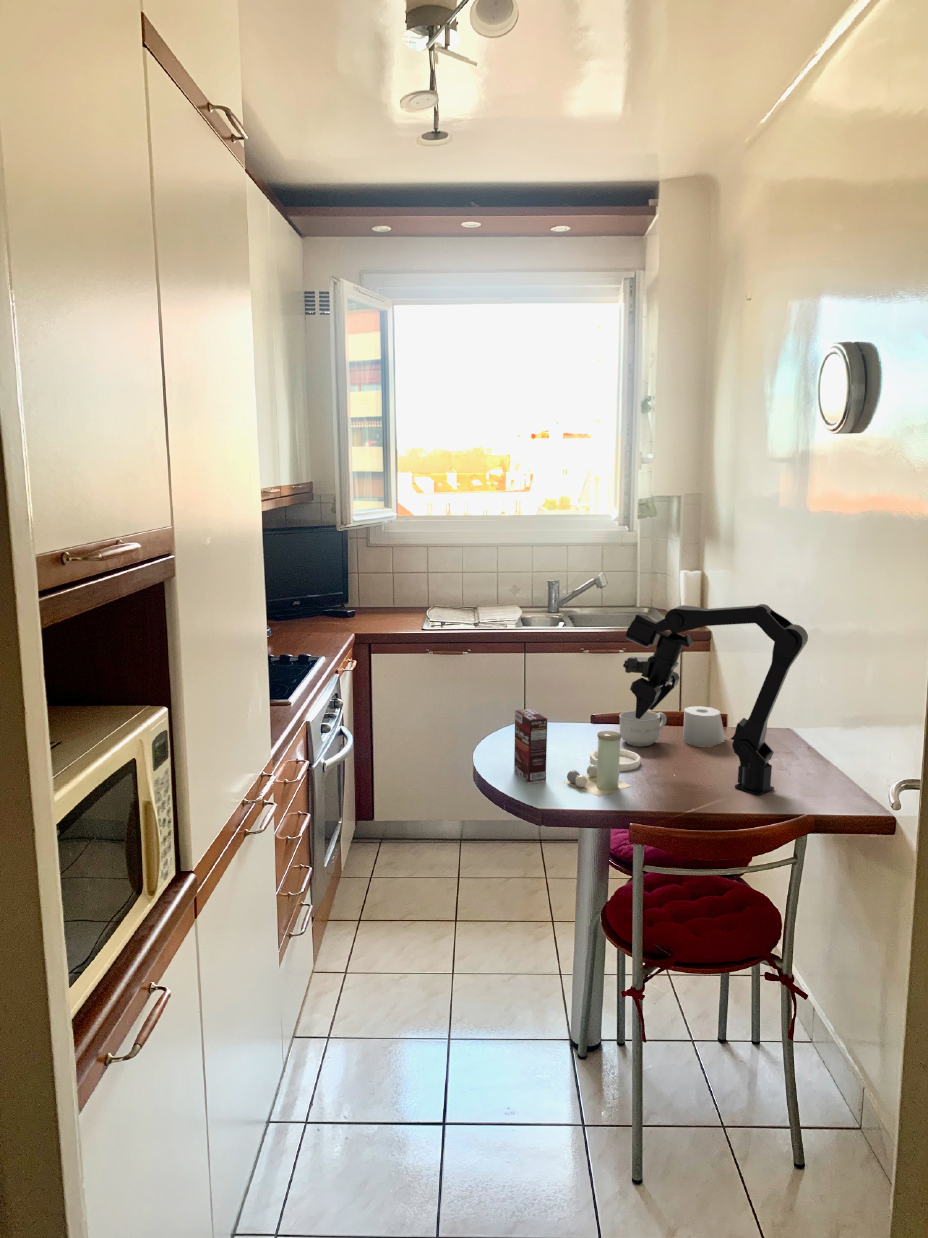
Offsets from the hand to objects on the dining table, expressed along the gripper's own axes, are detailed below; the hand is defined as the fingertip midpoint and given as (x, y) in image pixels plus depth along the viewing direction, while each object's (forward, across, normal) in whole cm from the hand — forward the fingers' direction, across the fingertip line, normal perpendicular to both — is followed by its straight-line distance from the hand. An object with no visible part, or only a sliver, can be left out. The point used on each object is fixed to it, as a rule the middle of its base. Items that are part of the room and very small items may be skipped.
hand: (644, 713), depth 213 cm
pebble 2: (+15, +21, -3) cm, 26 cm away
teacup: (+15, -19, -2) cm, 25 cm away
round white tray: (+15, +1, -2) cm, 15 cm away
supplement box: (+19, +21, -15) cm, 32 cm away
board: (+14, +17, 0) cm, 23 cm away
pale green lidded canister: (+13, +18, +2) cm, 22 cm away
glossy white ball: (+15, +14, -3) cm, 20 cm away
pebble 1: (+16, +20, -5) cm, 26 cm away
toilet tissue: (+11, -29, +11) cm, 33 cm away
